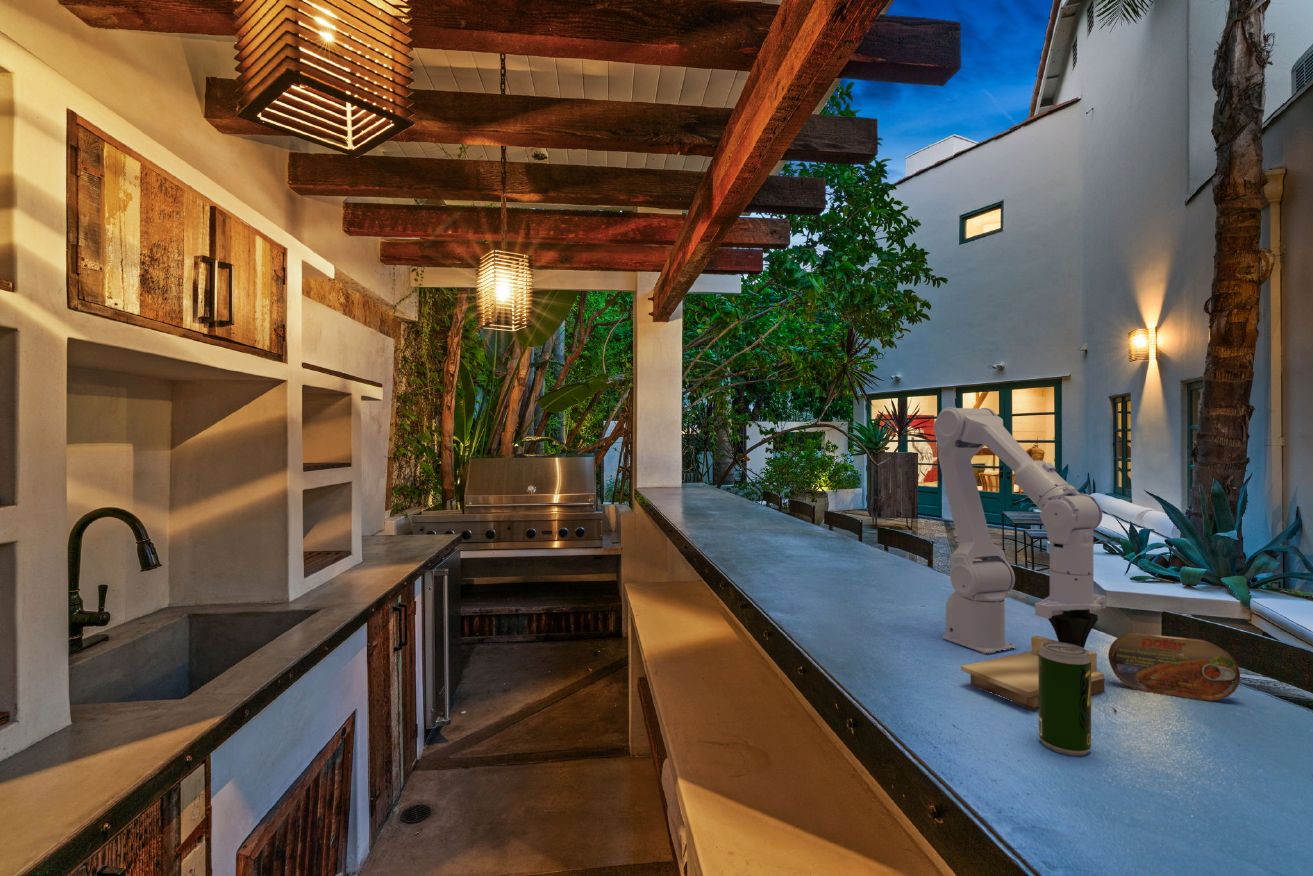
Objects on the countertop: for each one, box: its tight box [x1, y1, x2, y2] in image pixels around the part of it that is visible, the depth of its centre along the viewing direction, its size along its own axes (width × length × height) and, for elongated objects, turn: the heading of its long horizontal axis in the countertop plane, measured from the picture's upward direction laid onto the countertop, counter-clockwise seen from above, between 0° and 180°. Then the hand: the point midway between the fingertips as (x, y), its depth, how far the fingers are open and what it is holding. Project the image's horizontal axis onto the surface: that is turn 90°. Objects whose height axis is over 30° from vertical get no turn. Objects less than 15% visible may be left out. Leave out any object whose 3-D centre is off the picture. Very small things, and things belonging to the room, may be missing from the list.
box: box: [969, 674, 1106, 712], centre depth 92 cm, size 10×16×2 cm, turn 114°
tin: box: [1107, 632, 1241, 702], centre depth 91 cm, size 15×3×8 cm, turn 62°
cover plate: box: [960, 635, 1105, 697], centre depth 92 cm, size 11×17×4 cm, turn 114°
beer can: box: [1038, 642, 1092, 757], centre depth 75 cm, size 5×5×12 cm
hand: (1071, 658), depth 96 cm, fingers closed
